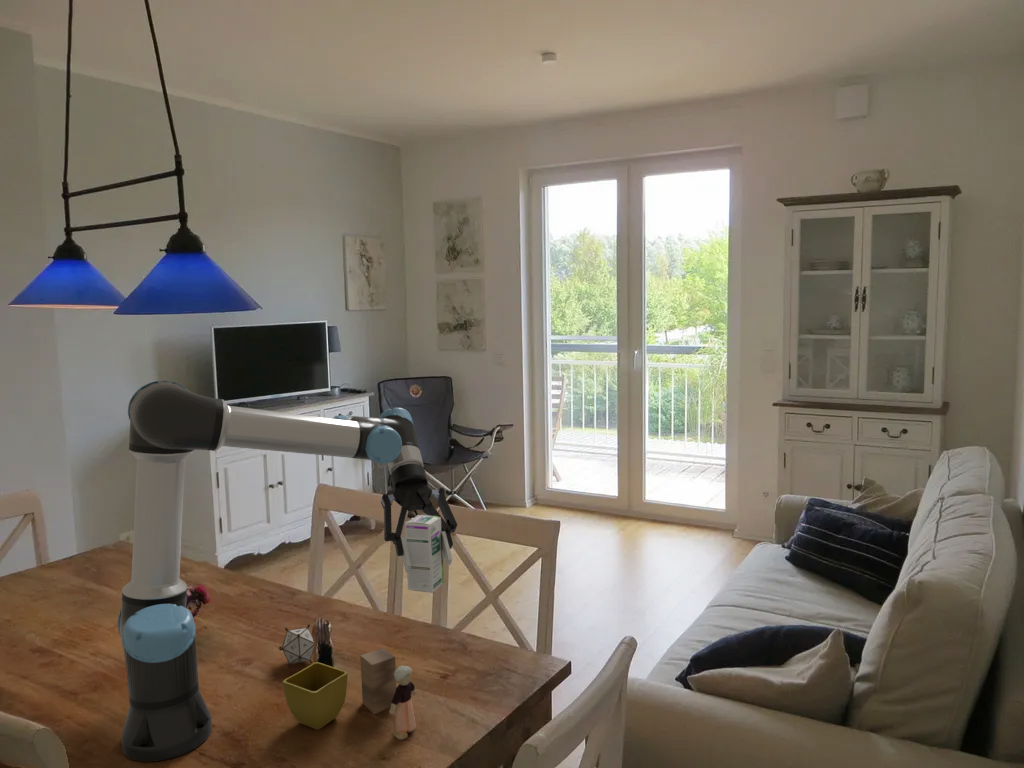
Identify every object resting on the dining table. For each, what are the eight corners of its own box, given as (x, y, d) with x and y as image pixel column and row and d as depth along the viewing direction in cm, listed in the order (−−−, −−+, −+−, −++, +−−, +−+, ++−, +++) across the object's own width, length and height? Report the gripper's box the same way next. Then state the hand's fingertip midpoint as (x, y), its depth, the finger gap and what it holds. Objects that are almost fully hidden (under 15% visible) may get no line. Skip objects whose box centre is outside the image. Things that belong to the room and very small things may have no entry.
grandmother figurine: (407, 744, 137) (404, 677, 136) (387, 741, 138) (384, 674, 137) (423, 721, 145) (421, 657, 143) (404, 718, 146) (402, 655, 144)
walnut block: (374, 714, 148) (371, 664, 146) (362, 703, 152) (360, 655, 151) (397, 705, 151) (395, 657, 149) (385, 695, 155) (383, 647, 153)
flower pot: (317, 739, 140) (314, 692, 139) (283, 726, 144) (281, 680, 143) (351, 716, 147) (348, 671, 146) (318, 704, 152) (316, 661, 151)
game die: (304, 682, 168) (304, 659, 162) (270, 666, 169) (269, 643, 163) (326, 647, 175) (326, 624, 168) (293, 632, 176) (292, 609, 169)
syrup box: (433, 593, 155) (430, 523, 154) (406, 590, 157) (404, 521, 155) (444, 583, 161) (442, 515, 159) (418, 580, 163) (416, 513, 161)
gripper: (449, 475, 175) (473, 566, 162) (358, 485, 167) (376, 581, 154) (455, 457, 169) (481, 549, 156) (361, 466, 162) (380, 564, 149)
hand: (429, 565), depth 155 cm, fingers closed on syrup box, 8 cm apart
